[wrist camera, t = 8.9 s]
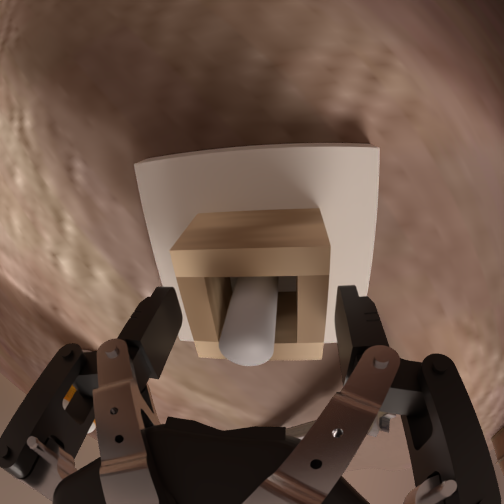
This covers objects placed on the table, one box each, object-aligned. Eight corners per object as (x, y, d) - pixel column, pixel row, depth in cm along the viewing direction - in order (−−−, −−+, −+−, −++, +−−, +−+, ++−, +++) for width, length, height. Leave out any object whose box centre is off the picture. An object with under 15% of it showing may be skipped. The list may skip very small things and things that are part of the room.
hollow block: (319, 208, 13) (330, 246, 10) (316, 307, 16) (321, 359, 13) (197, 213, 14) (169, 250, 11) (215, 308, 17) (198, 357, 14)
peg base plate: (370, 143, 13) (442, 180, 6) (354, 326, 18) (373, 419, 12) (146, 158, 15) (57, 203, 8) (186, 326, 20) (151, 410, 14)
